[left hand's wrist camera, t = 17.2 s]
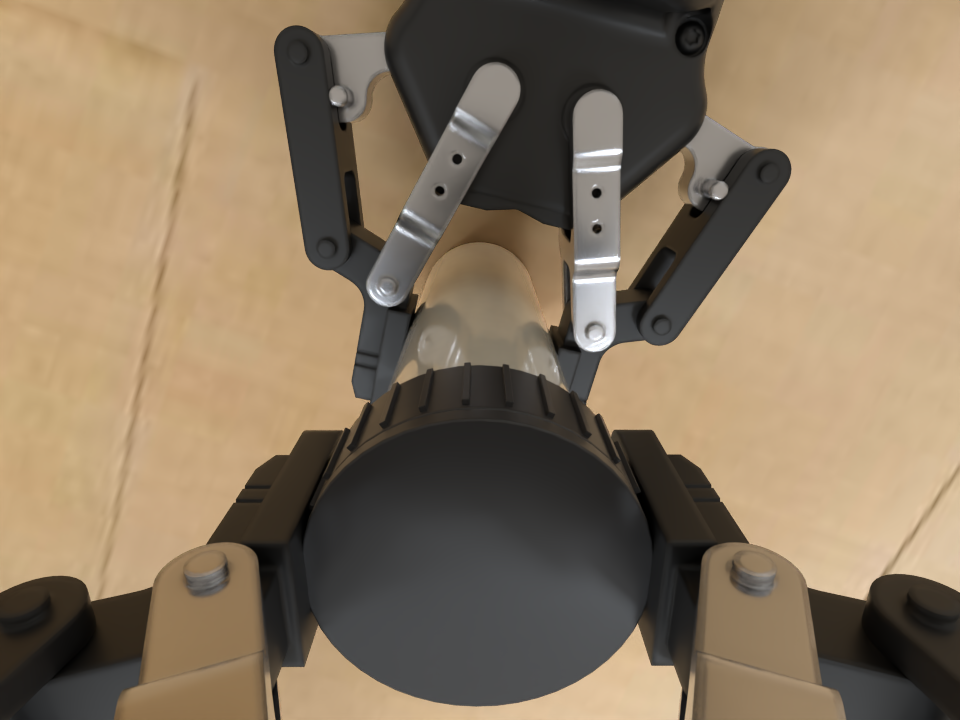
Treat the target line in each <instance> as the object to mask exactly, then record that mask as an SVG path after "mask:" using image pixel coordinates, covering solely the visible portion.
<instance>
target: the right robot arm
mask: <svg viewBox="0 0 960 720" xmlns="http://www.w3.org/2000/svg"><path fill="white" fill-rule="evenodd" d="M723 1H724V0H405V1H404V2H403V4H402V5H401V6H400V8H399V9H398V10H397V11H396V13H395V14H394V15H393V17H392V18H391V20H390V22H389V24H388V27H387V30H386V32H376V33H360V34H344V35H328V36H321V35H318V34H316V33H315V32H313V31H311V30H310V29H308V28H306V27H303V26H297V25H296V26H290V27H287V28H285V29H284V30H282V31H281V32H280V34H279V35H278V37H277V38H276V41H275V45H274V56H275V62H276V68H277V75H278V81H279V87H280V94H281V100H282V106H283V113H284V119H285V125H286V132H287V138H288V144H289V151H290V157H291V163H292V170H293V176H294V183H295V189H296V195H297V202H298V208H299V214H300V221H301V227H302V233H303V240H304V246H305V251H306V255H307V257H308V258H309V260H310V261H311V262H312V263H313V264H314V265H315V266H316V267H318V268H320V269H323V270H334V271H335V272H337V273H339V274H340V275H342V276H343V277H345V278H347V279H348V280H350V281H351V282H353V283H354V284H355V285H356V286H357V287H358V288H359V290H360V291H361V293H362V296H363V299H364V312H363V318H362V324H361V329H360V335H359V341H358V347H357V353H356V358H355V365H354V370H353V376H352V385H353V389H354V393H355V397H356V398H361V399H366V400H370V404H372V403H374V402H375V401H376V400H377V399H378V398H380V397H381V396H382V395H383V394H385V393H386V392H387V390H388V388H389V385H390V382H391V379H392V376H393V374H394V371H395V368H396V365H397V362H398V360H399V357H400V354H401V351H402V348H403V345H404V343H405V340H406V337H407V334H408V331H409V329H410V326H411V323H412V320H413V317H414V315H415V310H416V305H417V300H418V295H416V294H412V292H413V287H414V283H415V281H416V280H417V278H418V276H419V274H420V273H421V271H422V269H423V267H424V265H425V264H426V262H427V260H428V258H429V257H430V255H431V253H432V251H433V250H434V248H435V246H436V244H437V243H438V241H439V240H440V238H441V236H442V235H443V233H444V231H445V229H446V228H447V226H448V224H449V222H450V221H451V219H452V217H453V215H454V213H455V212H456V210H457V208H458V206H459V205H460V204H463V205H467V206H471V207H475V208H479V209H484V210H508V209H516V210H519V211H521V212H523V213H525V214H527V215H529V216H530V217H532V218H534V219H536V220H538V221H539V222H541V223H543V224H547V225H551V226H555V227H559V248H560V254H561V263H562V295H563V314H562V317H561V321H560V324H559V327H557V326H552V325H551V327H550V330H549V333H550V336H551V339H552V342H553V345H554V347H555V350H556V353H557V356H558V359H559V362H560V365H561V368H562V371H563V374H564V377H565V380H566V382H567V385H568V388H569V391H570V393H571V391H572V390H573V391H574V392H576V393H577V394H578V397H579V400H580V401H581V402H582V403H583V404H585V405H586V401H587V399H588V396H589V393H590V390H591V387H592V384H593V381H594V378H595V375H596V371H597V368H598V365H599V362H600V360H601V358H602V356H603V354H604V353H605V352H606V351H607V350H608V349H609V348H611V347H612V346H614V345H617V344H620V343H625V342H634V341H642V340H646V341H647V342H648V343H650V344H652V345H658V346H660V345H666V344H668V343H670V342H672V341H674V340H675V339H676V338H677V337H678V335H679V334H680V333H681V331H682V330H683V328H684V327H685V326H686V324H687V323H688V321H689V320H690V319H691V317H692V316H693V314H694V313H695V312H696V310H697V309H698V307H699V306H700V305H701V303H702V302H703V300H704V299H705V298H706V296H707V295H708V293H709V292H710V291H711V289H712V288H713V286H714V285H715V284H716V282H717V281H718V279H719V278H720V277H721V275H722V274H723V272H724V271H725V270H726V268H727V267H728V265H729V264H730V263H731V261H732V260H733V258H734V257H735V256H736V254H737V253H738V251H739V250H740V249H741V247H742V246H743V244H744V243H745V242H746V240H747V239H748V237H749V236H750V235H751V233H752V232H753V230H754V229H755V228H756V226H757V225H758V223H759V222H760V221H761V219H762V218H763V216H764V215H765V214H766V212H767V211H768V209H769V208H770V207H771V205H772V204H773V202H774V201H775V200H776V198H777V197H778V195H779V194H780V193H781V191H782V190H783V188H784V187H785V186H786V184H787V182H788V181H789V178H790V175H791V164H790V161H789V158H788V157H787V155H786V154H784V153H783V152H782V151H780V150H777V149H767V148H764V147H754V146H752V145H751V144H749V143H748V142H746V141H744V140H743V139H741V138H740V137H738V136H737V135H735V134H734V133H732V132H731V131H729V130H728V129H726V128H725V127H723V126H722V125H720V124H719V123H717V122H715V121H714V120H712V119H711V118H709V117H708V116H706V111H707V94H706V89H705V82H704V63H705V56H706V51H707V48H708V44H709V42H710V39H711V36H712V33H713V31H714V28H715V25H716V22H717V20H718V17H719V14H720V11H721V7H722V4H723ZM388 75H391V76H392V79H393V81H394V83H395V86H396V88H397V90H398V93H399V95H400V97H401V100H402V102H403V104H404V107H405V109H406V111H407V114H408V116H409V118H410V121H411V123H412V125H413V128H414V130H415V132H416V135H417V137H418V139H419V142H420V144H421V146H422V148H423V151H424V153H425V156H426V158H427V160H428V163H427V165H426V166H425V168H424V170H423V172H422V174H421V176H420V178H419V180H418V181H417V183H416V185H415V187H414V189H413V191H412V193H411V195H410V196H409V198H408V200H407V202H406V204H405V206H404V208H403V210H402V212H401V213H400V216H399V218H398V220H397V222H396V224H395V226H394V228H393V230H392V232H391V234H390V236H389V238H388V239H387V241H384V240H383V239H381V238H380V237H378V236H376V235H375V234H373V233H372V232H370V231H369V230H367V229H365V228H364V222H363V214H362V206H361V198H360V189H359V181H358V173H357V165H356V157H355V148H354V140H353V132H352V124H351V123H355V122H359V121H361V120H363V119H364V118H365V117H366V116H367V115H368V114H369V112H370V110H371V107H372V95H373V91H374V88H375V86H376V84H377V83H378V82H379V81H380V80H381V79H382V78H384V77H385V76H388ZM679 151H681V152H682V154H683V157H684V161H685V166H684V171H683V174H682V176H681V178H680V180H679V184H678V193H679V196H680V198H681V200H682V201H683V202H684V203H685V204H684V206H683V207H682V209H681V210H680V212H679V213H678V215H677V216H676V218H675V219H674V221H673V222H672V224H671V225H670V227H669V228H668V230H667V231H666V233H665V234H664V236H663V237H662V239H661V240H660V242H659V243H658V245H657V246H656V248H655V249H654V251H653V252H652V254H651V255H650V257H649V258H648V260H647V261H646V263H645V264H644V266H643V268H642V269H641V271H640V272H639V274H638V275H637V277H636V278H635V280H634V281H633V283H632V284H631V286H630V287H629V289H628V290H621V291H616V274H617V271H618V269H619V265H620V201H621V200H622V199H623V198H624V197H625V196H627V195H628V194H629V193H630V192H631V191H633V190H634V189H635V188H636V187H637V186H639V185H640V184H641V183H642V182H643V181H645V180H646V179H647V178H648V177H649V176H651V175H652V174H653V173H654V172H655V171H657V170H658V169H659V168H660V167H661V166H663V165H664V164H665V163H666V162H667V161H669V160H670V159H671V158H672V157H673V156H675V155H676V154H677V153H678V152H679Z"/></svg>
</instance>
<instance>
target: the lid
mask: <svg viewBox="0 0 960 720" xmlns="http://www.w3.org/2000/svg"><path fill="white" fill-rule="evenodd" d="M640 492H641V491H640V489H639V487H638V484H637V482H636V480H635V478H634V475H633V473H632V471H631V469H630V466H629V464H628V462H627V460H626V457H625V455H624V453H623V451H622V448H621V446H620V444H619V442H618V441H616V442H613V440H612V438H611V436H610V434H609V431H608V429H607V427H606V424H605V422H604V420H603V417H602V416H601V415H600V414H597V415H596V416H595V415H594V413H593V412H592V411H591V410H590V409H589V408H588V407H587V406H586V405H585V404H583V403H582V402H581V401H580V400H579V397H578V394H577V393H576V392H574V391H573V390H572V391H571V393H569V392H568V391H566V390H565V389H563V388H561V387H560V386H558V385H556V384H554V383H552V382H550V381H548V380H546V376H545V375H543V374H539V376H536V375H533V374H530V373H527V372H524V371H521V370H516V369H511V368H509V365H507V364H503V366H502V367H501V366H487V365H471V362H466V363H464V366H456V367H450V368H445V369H439V370H435V371H434V370H433V368H431V369H427V371H426V374H422V375H419V376H417V377H414V378H412V379H410V380H408V381H406V382H403V383H401V384H399V383H398V382H396V383H394V384H393V385H392V388H391V390H390V391H388V392H386V393H385V394H383V395H382V396H381V397H380V398H378V399H377V400H376V401H375V402H374V403H372V404H370V403H369V402H368V403H366V404H365V405H364V407H363V410H362V412H361V414H360V417H359V418H358V419H357V420H356V421H355V423H354V424H353V426H352V427H351V429H350V430H349V429H348V428H345V429H344V431H343V433H342V435H341V437H340V439H339V442H338V444H337V446H336V448H335V450H334V452H333V455H332V457H331V459H330V461H329V463H328V465H327V467H326V470H325V472H324V474H323V476H322V478H321V480H320V483H319V485H318V487H317V489H316V491H315V494H314V496H313V498H312V500H311V502H310V504H309V510H310V511H312V512H311V514H310V516H309V519H308V522H307V526H306V529H305V532H304V536H303V554H304V562H305V570H306V578H307V586H308V594H309V602H310V608H311V611H312V613H313V615H314V617H315V619H316V621H317V623H318V624H319V626H320V628H321V630H322V631H323V632H324V634H325V635H326V636H327V638H328V639H329V641H330V642H331V643H332V644H333V645H334V647H335V648H336V649H337V650H338V651H339V652H340V653H341V654H342V655H343V656H344V657H345V658H346V659H347V660H349V661H350V662H351V663H352V664H354V665H355V666H356V667H357V668H358V669H360V670H361V671H363V672H364V673H366V674H367V675H369V676H370V677H372V678H374V679H375V680H377V681H379V682H381V683H383V684H385V685H387V686H389V687H391V688H393V689H395V690H397V691H400V692H403V693H405V694H408V695H411V696H414V697H417V698H421V699H425V700H429V701H432V702H437V703H444V704H450V705H459V706H498V705H505V704H512V703H519V702H523V701H527V700H531V699H536V698H539V697H542V696H545V695H548V694H551V693H553V692H556V691H559V690H561V689H563V688H565V687H567V686H569V685H571V684H573V683H576V682H577V681H579V680H580V679H582V678H584V677H585V676H587V675H589V674H590V673H592V672H593V671H595V670H596V669H597V668H598V667H600V666H601V665H602V664H603V663H605V662H606V661H607V660H608V659H609V658H610V657H611V656H612V655H613V654H614V653H615V652H616V651H617V650H618V649H619V648H620V647H621V646H622V645H623V644H624V642H625V641H626V640H627V639H628V637H629V636H630V635H631V633H632V632H633V631H634V629H635V627H636V625H637V623H638V622H639V620H640V618H641V616H642V615H643V612H644V609H645V607H646V604H647V597H648V589H649V581H650V573H651V565H652V556H653V540H652V536H651V533H650V529H649V525H648V522H647V519H646V517H645V514H644V512H643V510H642V508H641V505H640V503H639V500H638V498H637V496H636V494H638V493H640Z"/></svg>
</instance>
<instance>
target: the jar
mask: <svg viewBox="0 0 960 720" xmlns="http://www.w3.org/2000/svg"><path fill="white" fill-rule="evenodd" d="M466 362H471V365H487V366H501V367H502V366H503V364H507V365H509V368H511V369H516V370H521V371H524V372H527V373H530V374H533V375H536V376H539V374H543V375H545V376H546V380H548V381H550V382H552V383H554V384H556V385H558V386H560V387H561V388H563V389H565V390H566V391H568V392H569V393H570V391H569V388H568V385H567V382H566V380H565V377H564V374H563V371H562V368H561V365H560V362H559V359H558V356H557V353H556V350H555V347H554V345H553V342H552V339H551V336H550V333H549V330H548V327H547V324H546V321H545V318H544V315H543V313H542V310H541V307H540V304H539V301H538V298H537V295H536V292H535V289H534V286H533V283H532V281H531V278H530V275H529V273H528V271H527V269H526V268H525V266H524V265H523V263H522V262H521V261H520V260H519V259H518V258H517V257H516V256H515V255H514V254H513V253H511V252H510V251H508V250H507V249H505V248H503V247H501V246H498V245H495V244H491V243H484V242H474V243H467V244H463V245H460V246H457V247H455V248H453V249H451V250H450V251H448V252H447V253H445V254H444V255H443V256H442V257H441V258H440V259H439V260H438V261H437V262H436V263H435V265H434V266H433V268H432V269H431V271H430V273H429V275H428V278H427V281H426V284H425V286H424V289H423V292H422V295H421V298H420V300H419V303H418V306H417V309H416V312H415V315H414V317H413V320H412V323H411V326H410V329H409V331H408V334H407V337H406V340H405V343H404V345H403V348H402V351H401V354H400V357H399V360H398V362H397V365H396V368H395V371H394V374H393V376H392V379H391V382H390V385H389V388H388V390H387V392H388V391H390V390H391V388H392V385H393V384H394V383H396V382H398V383H399V384H401V383H403V382H406V381H408V380H410V379H412V378H414V377H417V376H419V375H422V374H426V371H427V369H431V368H433V370H434V371H435V370H439V369H445V368H450V367H456V366H464V363H466Z"/></svg>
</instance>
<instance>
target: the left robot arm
mask: <svg viewBox="0 0 960 720" xmlns="http://www.w3.org/2000/svg"><path fill="white" fill-rule="evenodd" d="M342 433H343V431H342V430H306V431H304V432H303V433H302V435H301V436H300V438H299V440H298V441H297V443H296V445H295V447H294V448H293V450H292V452H291V453H290V455H276V456H274V457H273V458H271V459H270V460H268V461H267V462H266V463H264V464H263V465H261V466H260V467H258V468H257V469H256V470H255V471H254V473H253V474H252V476H251V477H250V479H249V480H248V482H247V483H246V485H245V489H243V490H242V491H241V493H240V494H239V496H238V497H237V499H236V503H233V505H232V506H231V508H230V509H229V511H228V512H227V514H226V515H225V517H224V518H223V520H222V521H221V523H220V524H219V526H218V527H217V529H216V530H215V532H214V533H213V535H212V536H211V538H210V539H209V541H208V542H207V544H206V545H204V546H200V547H197V548H194V549H192V550H189V551H187V552H185V553H183V554H181V555H179V556H178V557H176V558H175V559H173V560H172V561H170V562H169V563H168V564H167V565H166V566H165V567H164V568H162V570H161V571H160V572H159V573H158V575H157V577H156V579H155V581H154V584H153V587H151V588H148V589H145V590H141V591H137V592H133V593H129V594H124V595H119V596H115V597H110V598H106V599H101V600H96V601H92V602H91V600H90V597H89V593H88V590H87V587H86V585H85V584H84V583H83V582H82V581H81V580H79V579H77V578H73V577H69V576H51V577H44V578H39V579H35V580H31V581H28V582H25V583H22V584H19V585H17V586H14V587H12V588H10V589H8V590H5V591H3V592H1V593H0V720H282V713H281V703H280V696H279V690H278V683H277V678H278V675H279V672H280V670H281V667H304V666H305V663H306V660H307V657H308V654H309V651H310V648H311V645H312V642H313V639H314V636H315V633H316V630H317V627H318V623H317V621H316V619H315V617H314V615H313V613H312V611H311V608H310V602H309V594H308V586H307V578H306V570H305V562H304V554H303V536H304V532H305V529H306V526H307V522H308V519H309V516H310V514H311V512H312V511H310V510H309V504H310V502H311V500H312V498H313V496H314V494H315V491H316V489H317V487H318V485H319V483H320V480H321V478H322V476H323V474H324V472H325V470H326V467H327V465H328V463H329V461H330V459H331V457H332V455H333V452H334V450H335V448H336V446H337V444H338V442H339V439H340V437H341V435H342ZM611 438H612V440H613V442H616V441H618V442H619V444H620V446H621V448H622V451H623V453H624V455H625V457H626V460H627V462H628V464H629V466H630V469H631V471H632V473H633V475H634V478H635V480H636V482H637V484H638V487H639V489H640V491H641V492H640V493H638V494H636V496H637V498H638V500H639V503H640V505H641V508H642V510H643V512H644V514H645V517H646V519H647V522H648V525H649V529H650V533H651V536H652V540H653V556H652V565H651V573H650V581H649V589H648V597H647V604H646V607H645V609H644V612H643V615H642V616H641V618H640V620H639V622H638V625H639V628H640V631H641V634H642V637H643V641H644V644H645V647H646V650H647V653H648V656H649V659H650V662H651V666H674V667H675V670H676V672H677V675H678V678H679V681H680V683H681V686H682V690H681V696H680V703H679V713H678V720H960V593H959V592H958V591H956V590H954V589H952V588H950V587H948V586H945V585H943V584H940V583H938V582H935V581H932V580H929V579H926V578H922V577H918V576H913V575H906V574H891V575H885V576H881V577H879V578H877V579H876V580H875V581H874V582H873V583H872V585H871V587H870V590H869V594H868V597H867V601H864V600H859V599H855V598H850V597H846V596H841V595H836V594H832V593H827V592H823V591H818V590H815V589H811V588H808V587H807V584H806V581H805V579H804V577H803V575H802V573H801V572H800V571H799V570H798V568H796V567H795V566H794V565H793V564H792V563H791V562H790V561H788V560H787V559H785V558H784V557H782V556H781V555H779V554H777V553H775V552H773V551H771V550H768V549H766V548H763V547H760V546H756V545H752V544H749V542H748V541H747V539H746V538H745V536H744V534H743V533H742V531H741V530H740V528H739V527H738V525H737V524H736V522H735V521H734V519H733V518H732V516H731V515H730V513H729V511H728V510H727V508H726V507H725V505H724V504H723V502H720V498H719V496H718V495H717V493H716V492H715V490H714V488H711V484H710V482H709V481H708V479H707V478H706V476H705V475H704V473H703V472H702V470H701V469H700V468H699V467H698V466H696V465H695V464H693V463H692V462H690V461H689V460H688V459H686V458H685V457H683V456H682V455H667V454H666V452H665V450H664V449H663V447H662V445H661V443H660V442H659V440H658V438H657V436H656V435H655V433H654V432H653V431H652V430H614V431H613V433H612V436H611Z"/></svg>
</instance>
